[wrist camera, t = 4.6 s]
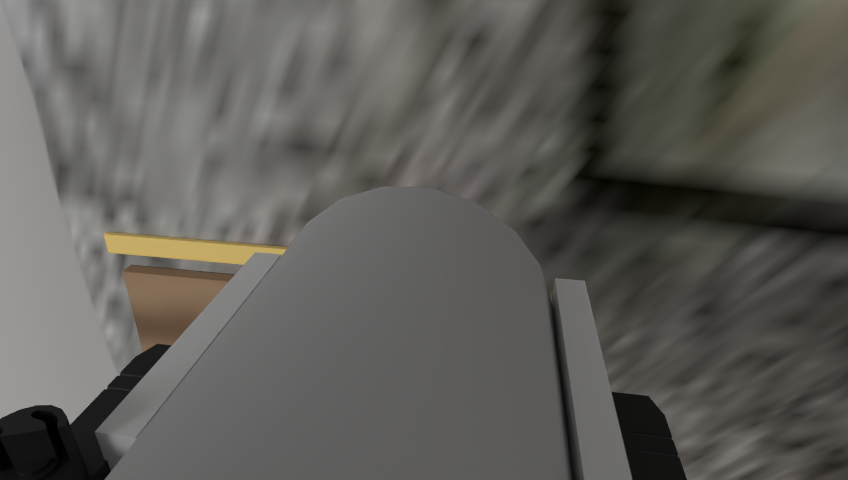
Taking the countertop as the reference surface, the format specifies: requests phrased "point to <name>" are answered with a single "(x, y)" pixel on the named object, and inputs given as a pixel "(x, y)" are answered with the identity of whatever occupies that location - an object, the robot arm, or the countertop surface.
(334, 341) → the can
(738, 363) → the countertop surface
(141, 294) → the board
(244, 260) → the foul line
